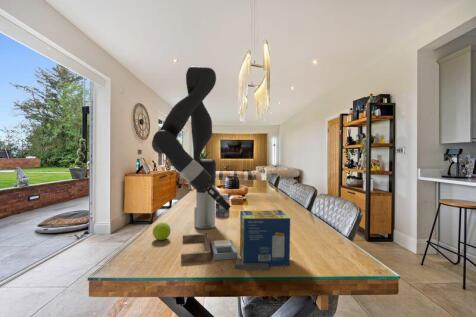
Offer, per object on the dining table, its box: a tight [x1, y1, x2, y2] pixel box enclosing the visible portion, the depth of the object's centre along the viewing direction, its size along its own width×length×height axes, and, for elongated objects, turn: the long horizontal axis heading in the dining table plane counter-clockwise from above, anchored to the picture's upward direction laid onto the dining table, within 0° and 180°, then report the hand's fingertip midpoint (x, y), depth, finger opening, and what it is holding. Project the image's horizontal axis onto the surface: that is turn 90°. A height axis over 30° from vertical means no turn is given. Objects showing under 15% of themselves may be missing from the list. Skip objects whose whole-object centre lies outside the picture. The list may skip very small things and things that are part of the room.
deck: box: [210, 239, 239, 261], centre depth 84 cm, size 8×12×2 cm, turn 12°
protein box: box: [239, 209, 291, 267], centre depth 79 cm, size 10×15×16 cm
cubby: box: [180, 233, 212, 263], centre depth 86 cm, size 10×19×3 cm, turn 12°
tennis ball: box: [152, 222, 172, 241], centre depth 96 cm, size 7×7×7 cm
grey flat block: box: [235, 257, 270, 271], centre depth 74 cm, size 10×5×2 cm, turn 86°
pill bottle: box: [215, 193, 231, 221], centre depth 87 cm, size 5×5×9 cm
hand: (227, 206), depth 88 cm, fingers closed on pill bottle, 5 cm apart
